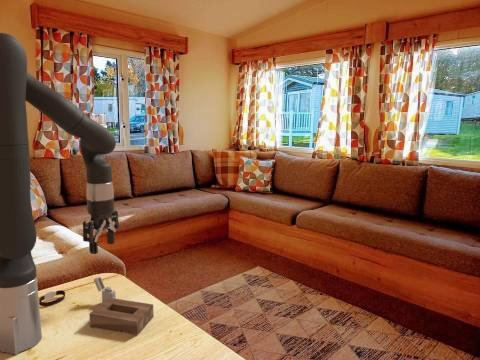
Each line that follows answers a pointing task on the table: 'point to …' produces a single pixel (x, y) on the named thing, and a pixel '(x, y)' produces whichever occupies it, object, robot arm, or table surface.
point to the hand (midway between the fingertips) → (102, 248)
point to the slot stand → (121, 316)
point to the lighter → (104, 289)
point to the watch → (50, 295)
